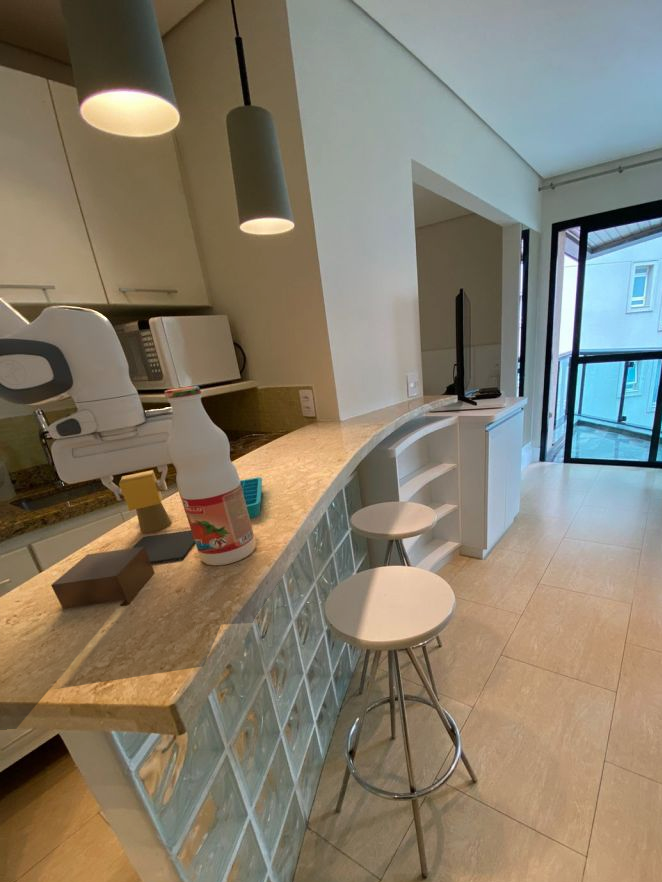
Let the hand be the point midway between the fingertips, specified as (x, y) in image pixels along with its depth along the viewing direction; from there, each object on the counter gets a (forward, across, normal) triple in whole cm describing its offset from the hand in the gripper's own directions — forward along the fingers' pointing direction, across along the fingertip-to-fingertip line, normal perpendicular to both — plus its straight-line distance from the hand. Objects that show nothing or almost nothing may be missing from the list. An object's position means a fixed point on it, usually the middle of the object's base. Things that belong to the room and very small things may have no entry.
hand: (143, 494), depth 72 cm
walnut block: (+11, +7, +12) cm, 18 cm away
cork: (+11, +2, -13) cm, 17 cm away
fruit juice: (+11, -11, +10) cm, 19 cm away
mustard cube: (+2, 0, 0) cm, 2 cm away
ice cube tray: (+11, -15, -14) cm, 23 cm away
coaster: (+11, 0, 0) cm, 11 cm away
